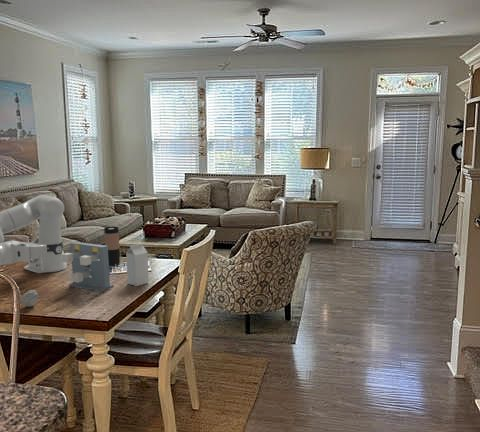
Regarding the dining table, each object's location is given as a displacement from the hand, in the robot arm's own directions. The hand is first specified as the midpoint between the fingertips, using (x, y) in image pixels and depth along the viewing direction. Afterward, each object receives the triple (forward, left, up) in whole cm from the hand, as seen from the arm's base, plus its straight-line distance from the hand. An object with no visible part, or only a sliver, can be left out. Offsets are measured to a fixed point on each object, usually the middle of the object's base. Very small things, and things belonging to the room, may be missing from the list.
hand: (40, 244), depth 200 cm
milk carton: (+22, +35, -24) cm, 48 cm away
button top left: (0, +18, -11) cm, 21 cm away
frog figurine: (+2, -9, -24) cm, 26 cm away
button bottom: (+5, +18, -19) cm, 27 cm away
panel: (+5, +22, -24) cm, 33 cm away
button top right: (+11, +18, -11) cm, 23 cm away
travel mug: (-13, +57, -24) cm, 63 cm away
